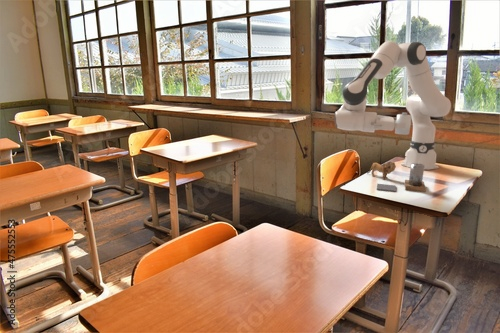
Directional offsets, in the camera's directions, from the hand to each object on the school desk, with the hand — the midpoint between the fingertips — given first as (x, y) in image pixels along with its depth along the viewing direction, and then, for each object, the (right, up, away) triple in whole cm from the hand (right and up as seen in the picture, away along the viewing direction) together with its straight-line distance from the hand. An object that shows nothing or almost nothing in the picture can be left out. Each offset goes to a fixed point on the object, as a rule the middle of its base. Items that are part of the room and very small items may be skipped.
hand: (405, 124), depth 163 cm
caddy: (+8, -28, +9) cm, 30 cm away
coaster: (-5, -28, +8) cm, 29 cm away
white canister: (-1, -4, +1) cm, 4 cm away
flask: (+7, -26, +7) cm, 28 cm away
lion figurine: (-2, -23, +25) cm, 35 cm away
